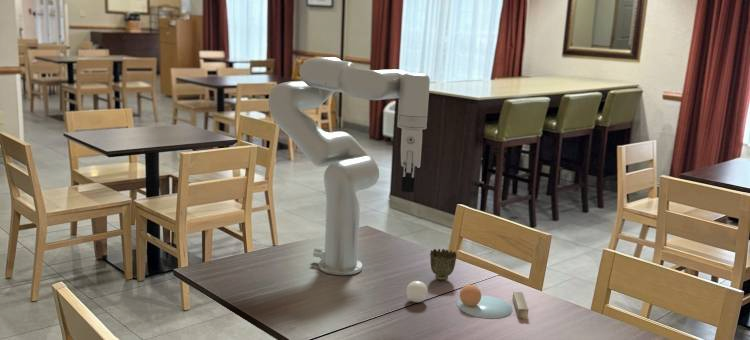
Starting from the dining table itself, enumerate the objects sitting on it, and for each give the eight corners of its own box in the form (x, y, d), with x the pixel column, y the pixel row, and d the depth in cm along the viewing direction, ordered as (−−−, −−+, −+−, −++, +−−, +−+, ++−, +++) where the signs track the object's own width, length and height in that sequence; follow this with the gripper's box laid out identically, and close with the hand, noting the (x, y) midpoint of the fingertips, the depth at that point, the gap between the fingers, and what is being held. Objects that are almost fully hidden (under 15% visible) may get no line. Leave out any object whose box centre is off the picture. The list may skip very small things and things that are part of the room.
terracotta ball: (483, 286, 174) (486, 306, 175) (474, 279, 179) (476, 299, 180) (464, 291, 173) (466, 311, 174) (455, 284, 178) (457, 304, 179)
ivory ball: (427, 281, 174) (432, 301, 176) (421, 275, 180) (425, 294, 181) (407, 288, 173) (412, 308, 174) (401, 281, 179) (406, 301, 180)
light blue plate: (449, 310, 174) (449, 309, 174) (467, 291, 186) (467, 291, 186) (503, 323, 168) (503, 322, 168) (518, 303, 180) (518, 302, 180)
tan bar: (517, 318, 171) (518, 308, 170) (512, 300, 182) (513, 291, 181) (527, 318, 171) (528, 309, 170) (521, 301, 182) (522, 292, 181)
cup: (453, 286, 189) (455, 258, 188) (426, 282, 191) (428, 255, 189) (455, 276, 196) (458, 250, 195) (430, 273, 198) (432, 247, 196)
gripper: (426, 127, 168) (421, 199, 172) (426, 118, 183) (422, 185, 187) (396, 125, 169) (391, 197, 173) (398, 116, 183) (394, 183, 187)
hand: (407, 191), depth 180 cm, fingers closed
